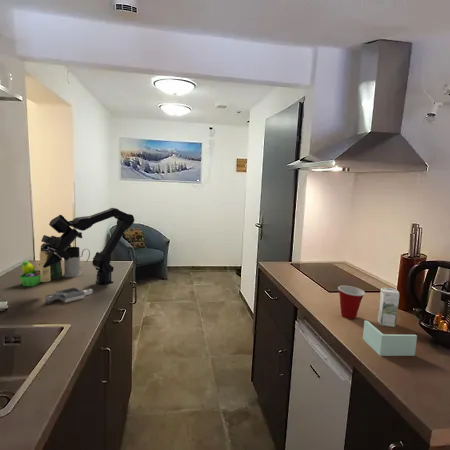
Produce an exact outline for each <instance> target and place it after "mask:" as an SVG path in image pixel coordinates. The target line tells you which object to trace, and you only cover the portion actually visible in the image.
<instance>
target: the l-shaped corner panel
mask: <svg viewBox="0 0 450 450" xmlns="http://www.w3.org/2000/svg"><path fill="white" fill-rule="evenodd" d="M417 339H418V335H416V334H391V333H390V334H389V333H388V334H387V333H386V334H385V333H382V332H381V331H380V330H379V329H378V328H377V327H376V326H375V325H373V324H372V323H371V322H370V321H369V320H364V321H363V333H362V340H363V341H364V342H365V343H366V344H367V345H368V346H369V347H370V348H371V349H373V351H374V352H375V353H377V355H379V356H380V357H383V356H387V357H389V356H390V357H391V356H393V357H394V356H395V357H397V356H400V357H402V356H403V357H405V356H406V357H407V356H410V357H411V356H413V357H414V356H415V355H416V347H417Z"/></svg>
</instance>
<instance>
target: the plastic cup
mask: <svg viewBox="0 0 450 450" xmlns="http://www.w3.org/2000/svg"><path fill="white" fill-rule="evenodd" d="M337 290H338V293H339V304H340V315H341V318H344V319H348V320H355V319H356V318H357V315H358V311H359V308H360V306H361V302H362V299H363V298H364V296H365V295H366V292H365V291H364V290H363V289H361V288H358V287H355V286H351V285H340V286H338V287H337Z"/></svg>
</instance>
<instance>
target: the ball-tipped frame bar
mask: <svg viewBox="0 0 450 450" xmlns="http://www.w3.org/2000/svg"><path fill="white" fill-rule="evenodd" d="M92 294H94V289H93V288H87V289H85V290H82V289H81V288H78V287H75V286H73V287H69V288H66V289H61V290H57V291H55V293H52V294H47V295H45V296H44V302H45V303H44V304H45V305H52V304H53V301H55V300H59V301H61V302H63V303H70V302H74V301H78V300H82V299H85V296H88V295H92Z"/></svg>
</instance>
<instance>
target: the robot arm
mask: <svg viewBox="0 0 450 450" xmlns="http://www.w3.org/2000/svg"><path fill="white" fill-rule="evenodd" d="M110 218H114V219H116V227H115V228H114V231H113V232H112V234H111V236H110V237H109V239H108V241H107V242H106V244H105V246H104V247H103V249H102V251H100V252H99V251H97V252H95V255H94V256H93V258H92V259H93V260H92V266H93V267H94V268H95V270H96V273H97V274H96V280H95V283H97V284H99V285H101V286H103V285H107V284H111V283H114V281H113V280H112V272H114V269H115V268H114V267H113V266H112V264H111V261H112V255H113V253H114V251H115V249H116V247H117V246H118V244H119V242H120V240H121V238H122V236H123V235H124V234H125V232H126V231H127V230H129V228H131V227H132V226H133V224H134V223H135V220H136V219H135V217H134V215H132V214H130V213H126V212H124V211H121V210H120V209H118V208H116V207H110V208H108V209H106V210H103V211H99V212H96V213H94V214H91V215H86V216H85V215H84V216H77V217H75V218H73V219H72V220H67V219H66V218H65V216H63V215H62V214H58V216H56V217H54V218H52V219H51V220H50V221H49V223H48V225H49V226H50V227H51V228H52V229H53V230H54V231H56V232H57V233H58V234H61V235H60V236H56V235H51V236H49V235H45V234H44V235H43V236H42V238H41V242H42V244H43V245H42V244H41V245H42V246H41V245H40V248H41V247H42V248H43V250H44V252H50V257H49V258H48V260H47V261H46V263H45V264H44V266H43V267H44V268H46V267H48V266H50V265H53V264H55V263H57V262H59V261H63V260H66V261H68V259H69V258H70V255H69V254H68V253H67V252H66V251H65V250H66V249H67V248H68V247H72V244H73V242H74V241H75V240H76V239H77V238H78V239H79V238H80V239H83V233H82V232H80V231H86V230H88V229H90V228H91V227H92V226H94V225H95V224H97V223H100V222H103V221H105V220H108V219H110ZM78 230H79V231H78ZM48 243H49V244H48ZM38 265H39V266H40V263H39V264H38Z"/></svg>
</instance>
